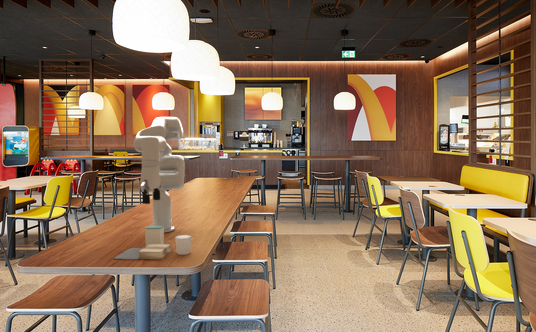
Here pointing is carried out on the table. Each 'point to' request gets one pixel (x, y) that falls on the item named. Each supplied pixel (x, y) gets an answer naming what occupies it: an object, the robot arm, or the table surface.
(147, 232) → the cream block
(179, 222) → the table surface
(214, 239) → the table surface
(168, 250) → the birch step
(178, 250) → the pale pink cylinder
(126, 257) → the grey mat
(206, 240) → the table surface
